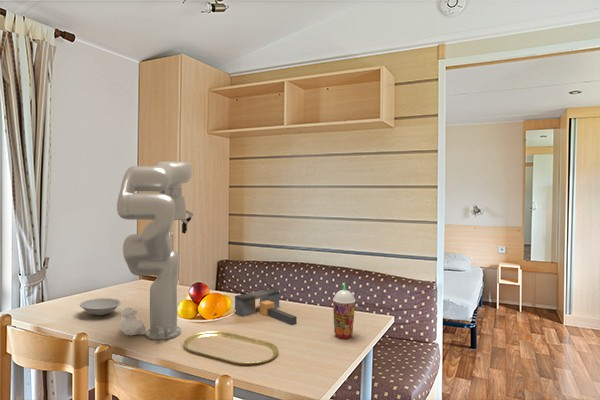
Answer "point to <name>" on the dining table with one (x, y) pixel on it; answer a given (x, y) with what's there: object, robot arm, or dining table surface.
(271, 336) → the dining table surface
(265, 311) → the plug
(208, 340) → the dining table surface
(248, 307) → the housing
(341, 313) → the smoothie
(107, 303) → the dish
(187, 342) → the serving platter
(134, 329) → the duck figurine
